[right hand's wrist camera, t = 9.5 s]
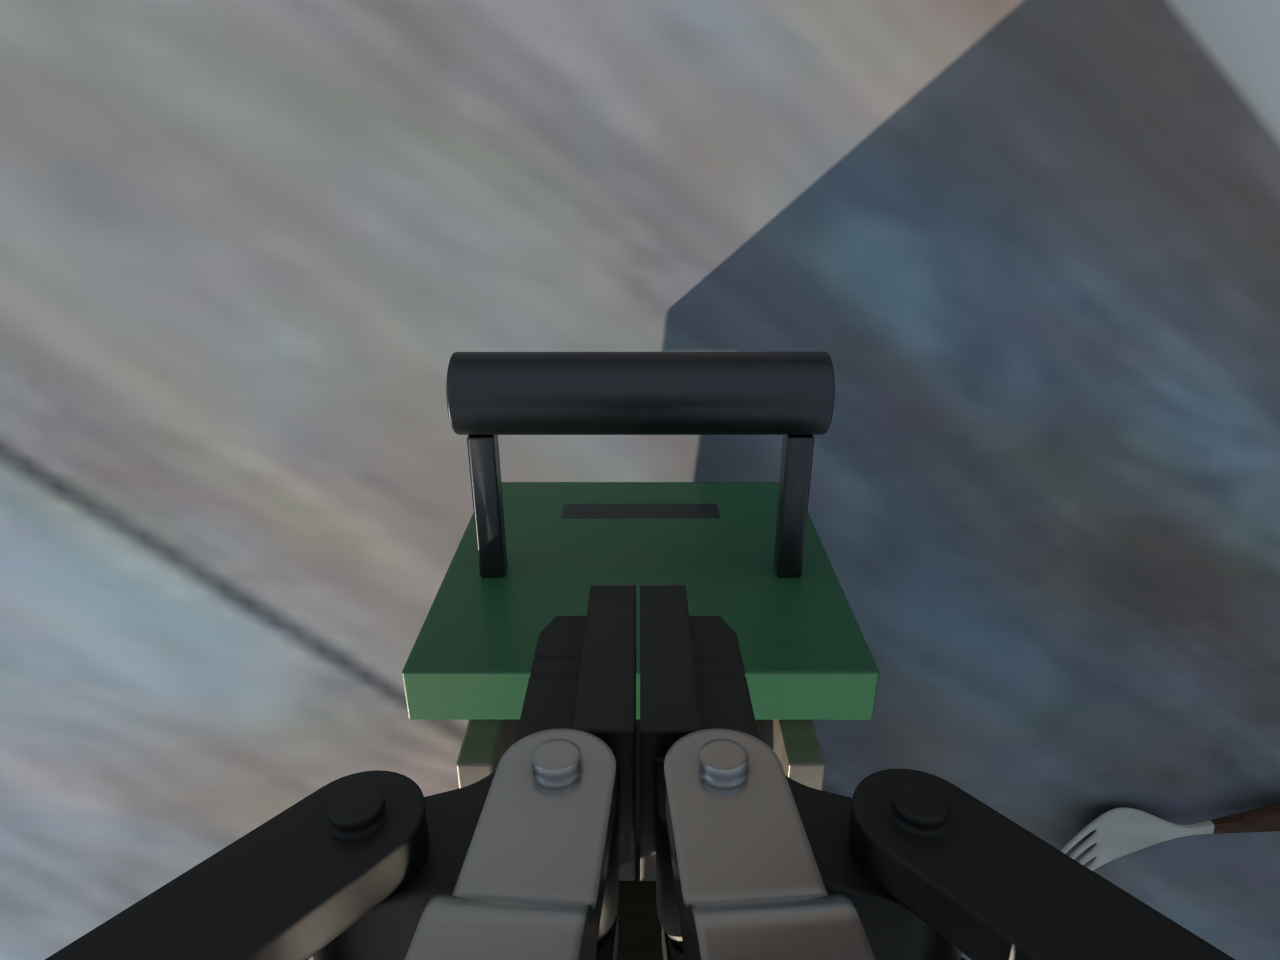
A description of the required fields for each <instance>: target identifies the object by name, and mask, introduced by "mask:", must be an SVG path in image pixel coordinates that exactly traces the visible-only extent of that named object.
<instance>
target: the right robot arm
mask: <svg viewBox="0 0 1280 960" xmlns="http://www.w3.org/2000/svg"><path fill="white" fill-rule="evenodd" d="M635 794H636V585H590V592H589V600H588V608H587V616H556V617H555V618H554V619H553V620H552V621H551V622H550V623H549V624H548V625H547V626H546V627H545V628H544V629H543V630H542V631H541V632H540V633H539V636H538V641H537V645H536V650H535V654H534V659H533V663H532V667H531V672H530V677H529V681H528V685H527V690H526V694H525V699H524V703H523V708H522V712H521V717H520V721H519V726H518V730H517V735H516V739H515V743H514V744H513V745H512V746H511V747H510V748H509V749H508V750H507V751H506V752H505V753H504V755H503V756H502V757H501V760H500V762H499V764H498V767H497V769H496V770H495V771H494V772H493V773H491V774H490V775H488V776H487V777H485V778H483V779H481V780H480V781H478V782H476V783H473V784H471V785H468V786H466V787H463V788H459V789H456V790H452V791H448V792H444V793H440V794H436V795H432V796H427V797H423V794H422V791H421V789H420V788H419V786H418V785H417V784H416V783H415V782H414V781H413V780H411V779H410V778H408V777H406V776H404V775H401V774H398V773H395V772H389V771H365V772H360V773H355V774H352V775H348V776H345V777H342V778H340V779H338V780H335V781H333V782H331V783H329V784H327V785H326V786H324V787H322V788H320V789H319V790H317V791H316V792H314V793H312V794H311V795H309V796H307V797H306V798H304V799H303V800H301V801H299V802H298V803H296V804H295V805H293V806H291V807H290V808H288V809H287V810H285V811H283V812H282V813H280V814H279V815H277V816H275V817H274V818H272V819H271V820H269V821H267V822H266V823H264V824H262V825H261V826H259V827H258V828H256V829H254V830H253V831H251V832H250V833H248V834H246V835H245V836H243V837H242V838H240V839H238V840H237V841H235V842H234V843H232V844H230V845H229V846H227V847H225V848H224V849H222V850H221V851H219V852H217V853H216V854H214V855H213V856H211V857H209V858H208V859H206V860H205V861H203V862H201V863H200V864H198V865H197V866H195V867H193V868H192V869H190V870H188V871H187V872H185V873H184V874H182V875H180V876H179V877H177V878H176V879H174V880H172V881H171V882H169V883H168V884H166V885H164V886H163V887H161V888H160V889H158V890H156V891H155V892H153V893H151V894H150V895H148V896H147V897H145V898H143V899H142V900H140V901H139V902H137V903H135V904H134V905H132V906H131V907H129V908H127V909H126V910H124V911H123V912H121V913H119V914H118V915H116V916H114V917H113V918H111V919H110V920H108V921H106V922H105V923H103V924H102V925H100V926H98V927H97V928H95V929H94V930H92V931H90V932H89V933H87V934H86V935H84V936H82V937H81V938H79V939H77V940H76V941H74V942H73V943H71V944H69V945H68V946H66V947H65V948H63V949H61V950H60V951H58V952H57V953H55V954H53V955H52V956H50V957H49V958H47V959H45V960H308V959H309V958H311V957H312V956H313V959H314V960H616V958H617V949H618V889H619V881H635ZM640 881H656V903H657V914H658V918H659V921H660V923H661V925H662V949H663V958H664V960H965V959H964V958H963V957H961V954H962V952H963V953H964V954H965V955H967V956H968V957H969V958H971V959H972V960H1235V959H1233V958H1231V957H1230V956H1228V955H1227V954H1225V953H1223V952H1222V951H1220V950H1219V949H1217V948H1215V947H1214V946H1212V945H1211V944H1209V943H1207V942H1206V941H1204V940H1202V939H1201V938H1199V937H1198V936H1196V935H1194V934H1193V933H1191V932H1190V931H1188V930H1186V929H1185V928H1183V927H1182V926H1180V925H1178V924H1177V923H1175V922H1174V921H1172V920H1170V919H1169V918H1167V917H1165V916H1164V915H1162V914H1161V913H1159V912H1157V911H1156V910H1154V909H1153V908H1151V907H1149V906H1148V905H1146V904H1145V903H1143V902H1141V901H1140V900H1138V899H1137V898H1135V897H1133V896H1132V895H1130V894H1128V893H1127V892H1125V891H1124V890H1122V889H1120V888H1119V887H1117V886H1116V885H1114V884H1112V883H1111V882H1109V881H1108V880H1106V879H1104V878H1103V877H1101V876H1100V875H1098V874H1096V873H1095V872H1093V871H1092V870H1090V869H1088V868H1087V867H1085V866H1083V865H1082V864H1080V863H1079V862H1077V861H1075V860H1074V859H1072V858H1071V857H1069V856H1067V855H1066V854H1064V853H1063V852H1061V851H1059V850H1058V849H1056V848H1055V847H1053V846H1051V845H1050V844H1048V843H1046V842H1045V841H1043V840H1042V839H1040V838H1038V837H1037V836H1035V835H1034V834H1032V833H1030V832H1029V831H1027V830H1026V829H1024V828H1022V827H1021V826H1019V825H1018V824H1016V823H1014V822H1013V821H1011V820H1009V819H1008V818H1006V817H1005V816H1003V815H1001V814H1000V813H998V812H997V811H995V810H993V809H992V808H990V807H989V806H987V805H985V804H984V803H982V802H981V801H979V800H977V799H976V798H974V797H972V796H971V795H969V794H968V793H966V792H964V791H963V790H961V789H960V788H958V787H956V786H955V785H953V784H951V783H949V782H948V781H946V780H944V779H941V778H939V777H937V776H934V775H931V774H928V773H925V772H921V771H916V770H910V769H889V770H883V771H879V772H876V773H873V774H871V775H870V776H868V777H866V778H865V779H864V780H862V781H861V782H860V783H859V785H858V786H857V788H856V789H855V792H854V795H853V798H850V797H846V796H841V795H837V794H833V793H829V792H825V791H821V790H818V789H814V788H811V787H808V786H805V785H803V784H801V783H798V782H796V781H794V780H793V779H791V778H789V777H787V776H786V775H785V772H784V769H783V767H782V764H781V762H780V760H779V757H778V756H777V755H776V753H775V752H774V751H773V750H772V749H771V748H770V747H769V746H768V745H767V744H766V743H764V742H763V741H761V740H760V739H759V735H758V731H757V726H756V721H755V717H754V712H753V707H752V703H751V698H750V693H749V689H748V684H747V679H746V677H745V670H744V665H743V660H742V659H741V651H740V646H739V642H738V637H737V634H736V633H735V632H734V631H733V630H732V628H731V627H730V626H729V625H728V624H727V623H726V622H725V621H724V620H723V619H722V618H721V617H720V616H689V610H688V602H687V593H686V586H685V585H640Z"/></svg>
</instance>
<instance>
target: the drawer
mask: <svg viewBox="0 0 1280 960" xmlns="http://www.w3.org/2000/svg"><path fill="white" fill-rule="evenodd" d="M446 391H447V407H448V414H449V419H450V423H451V426H452V429H453V431H454V432H455V433H456V434H458V435H468V437H467V444H468V455H469V465H470V476H471V486H472V497H473V508H474V513H473V515H472V517H471V519H470V522H469V524H468V526H467V528H466V531H465V533H464V535H463V537H462V540H461V542H460V544H459V546H458V548H457V551H456V553H455V555H454V557H453V560H452V562H451V564H450V566H449V568H448V571H447V573H446V575H445V577H444V580H443V582H442V584H441V586H440V589H439V591H438V593H437V595H436V597H435V600H434V602H433V604H432V606H431V609H430V611H429V613H428V615H427V617H426V620H425V622H424V624H423V626H422V629H421V631H420V633H419V635H418V638H417V640H416V642H415V644H414V646H413V649H412V651H411V653H410V655H409V658H408V660H407V662H406V664H405V666H404V669H403V671H402V677H403V684H404V690H405V697H406V704H407V711H408V717H409V719H469V722H468V726H467V729H466V732H465V736H464V739H463V742H462V746H461V749H460V753H459V756H458V759H457V763H456V769H457V777H458V785H459V788H463V787H466V786H468V785H471V784H473V783H476V782H478V781H480V780H481V779H483V778H485V777H487V776H488V775H490V774H491V773H493V772H494V771H495V770H496V769H497V767H498V764H499V762H500V760H501V757H502V756H503V755H504V753H505V752H506V751H507V750H508V749H509V748H510V747H511V746H512V745H513V744H514V743H515V739H516V735H517V730H518V726H519V721H520V717H521V712H522V708H523V703H524V699H525V694H526V690H527V685H528V681H529V677H530V672H531V667H532V663H533V659H534V654H535V650H536V645H537V641H538V636H539V633H540V632H541V631H542V630H543V629H544V628H545V627H546V626H547V625H548V624H549V623H550V622H551V621H552V620H553V619H554V618H555V617H556V616H587V608H588V600H589V592H590V585H636V794H635V881H619V889H618V949H617V958H616V960H664V958H663V949H662V925H661V923H660V921H659V918H658V914H657V903H656V881H640V585H685V586H686V593H687V602H688V610H689V616H720V617H721V618H722V619H723V620H724V621H725V622H726V623H727V624H728V625H729V626H730V627H731V628H732V630H733V631H734V632H735V633H736V634H737V637H738V642H739V646H740V651H741V659H742V660H743V665H744V670H745V677H746V679H747V684H748V689H749V693H750V698H751V703H752V707H753V712H754V717H755V721H756V726H757V731H758V735H759V739H760V740H761V741H763V742H764V743H766V744H767V745H768V746H769V747H770V748H771V749H772V750H773V751H774V752H775V753H776V755H777V756H778V757H779V760H780V762H781V764H782V767H783V769H784V772H785V775H786V776H787V777H789V778H791V779H793V780H794V781H796V782H798V783H801V784H803V785H805V786H808V787H811V788H814V789H818V790H821V791H822V789H823V781H824V773H825V761H824V758H823V754H822V751H821V748H820V744H819V741H818V737H817V734H816V731H815V727H814V724H813V721H812V720H870V719H872V718H873V712H874V705H875V699H876V692H877V685H878V678H879V671H878V668H877V666H876V664H875V662H874V660H873V657H872V655H871V653H870V651H869V648H868V646H867V644H866V642H865V639H864V637H863V635H862V633H861V630H860V628H859V626H858V624H857V621H856V619H855V617H854V615H853V612H852V610H851V608H850V606H849V604H848V601H847V599H846V597H845V595H844V592H843V590H842V588H841V586H840V583H839V581H838V579H837V577H836V574H835V572H834V570H833V568H832V565H831V563H830V561H829V559H828V556H827V554H826V552H825V550H824V548H823V545H822V543H821V541H820V539H819V536H818V534H817V532H816V530H815V527H814V525H813V523H812V521H811V518H810V516H809V514H808V512H807V511H808V500H809V489H810V478H811V468H812V457H813V446H814V437H813V435H823V434H825V433H826V432H827V431H828V429H829V426H830V423H831V420H832V415H833V408H834V395H835V384H834V371H833V365H832V361H831V358H830V356H829V354H828V353H826V352H455V353H454V354H453V355H452V356H451V359H450V362H449V366H448V372H447V388H446ZM498 435H783V447H782V460H781V473H780V482H501V471H500V458H499V445H498Z"/></svg>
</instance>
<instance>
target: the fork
mask: <svg viewBox="0 0 1280 960" xmlns="http://www.w3.org/2000/svg"><path fill="white" fill-rule="evenodd" d="M1095 829H1096V830H1095ZM1094 830H1095V832H1094V833H1093V834H1092V835H1091V836H1090V837H1089V838H1087V839H1086V840H1085V841H1084V842H1083V843H1082V844H1081V845H1079V846H1078V847H1077V848H1076V849H1075V850H1074V851H1073V852H1072V853H1071V854H1070V855H1069V857H1071V858H1072V859H1075V858H1076V857H1078V856H1079V855H1080V854H1081V853H1082V852H1083V851H1085V850H1086V849H1087V848H1089V847H1090V846H1092V845H1093V844H1095V843H1096V844H1095V845H1094V846H1093V847H1092V848H1091V849H1090V850H1089V851H1088V852H1087V853H1086V854H1085V855H1083V856H1082V857H1081V858H1080V859H1079V860H1078V861H1077V862H1079V863H1080V864H1082V865H1084V864H1085V863H1087V862H1088V861H1089V860H1091V859H1092V858H1094V857H1095V859H1094V860H1093V861H1092V862H1091V863H1090V864H1088V865H1087V866H1086V867H1087V868H1088V869H1090V870H1092V871H1094V870H1095V869H1097V868H1098V867H1100V866H1102V865H1104V864H1106V863H1108V862H1110V861H1112V860H1115V859H1117V858H1119V857H1122V856H1125V855H1127V854H1130V853H1132V852H1135V851H1138V850H1141V849H1143V848H1146V847H1149V846H1152V845H1155V844H1158V843H1161V842H1164V841H1168V840H1171V839H1175V838H1179V837H1184V836H1190V835H1199V834H1215V833H1240V832H1267V831H1280V803H1279V804H1274V805H1270V806H1266V807H1262V808H1258V809H1254V810H1250V811H1246V812H1242V813H1238V814H1234V815H1230V816H1226V817H1222V818H1218V819H1213V820H1209V821H1205V822H1200V823H1195V824H1187V825H1182V824H1175V823H1172V822H1169V821H1166V820H1163V819H1161V818H1159V817H1156V816H1154V815H1152V814H1149V813H1147V812H1144V811H1141V810H1138V809H1134V808H1128V807H1120V808H1115V809H1112V810H1109V811H1107V812H1105V813H1104V814H1102V815H1100V816H1099V817H1097V818H1096V819H1095V820H1093V821H1092V822H1091V823H1089V824H1088V825H1087V826H1086V827H1084V828H1083V829H1082V830H1081V831H1080V832H1079V833H1077V834H1076V835H1075V836H1074V837H1073V838H1072V839H1071V840H1070V841H1069V842H1068V843H1067V844H1066V845H1065V846H1064V847H1063V848H1062V849H1061V850H1060V851H1061V852H1063V853H1064V854H1066V853H1067V852H1068V851H1069V850H1070V849H1071V848H1072V847H1073V846H1074V845H1075V844H1077V843H1078V842H1079V841H1080V840H1081V839H1083V838H1084V837H1085V836H1086V835H1088V834H1089V833H1091V832H1092V831H1094Z"/></svg>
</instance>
